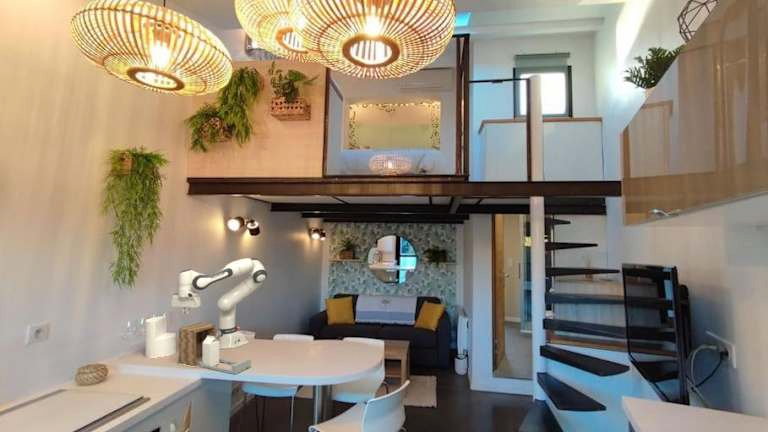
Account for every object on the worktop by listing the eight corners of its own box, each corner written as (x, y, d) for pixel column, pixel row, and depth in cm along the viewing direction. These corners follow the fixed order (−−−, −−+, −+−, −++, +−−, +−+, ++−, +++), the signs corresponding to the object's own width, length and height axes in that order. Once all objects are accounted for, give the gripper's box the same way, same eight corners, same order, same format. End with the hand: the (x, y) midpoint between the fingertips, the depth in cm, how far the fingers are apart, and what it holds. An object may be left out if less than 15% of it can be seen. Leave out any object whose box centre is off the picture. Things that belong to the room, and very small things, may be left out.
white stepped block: (139, 359, 258) (139, 322, 258) (154, 350, 276) (154, 316, 277) (168, 358, 259) (167, 321, 259) (180, 349, 278) (180, 315, 278)
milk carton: (210, 367, 239) (210, 338, 239) (202, 366, 242) (202, 336, 242) (219, 364, 245) (219, 335, 246) (211, 362, 248) (211, 333, 249)
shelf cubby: (179, 364, 246) (179, 328, 246) (200, 356, 261) (200, 322, 261) (194, 367, 240) (194, 330, 240) (215, 359, 255) (215, 324, 255)
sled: (198, 366, 241) (198, 358, 241) (214, 360, 252) (214, 352, 252) (235, 374, 227) (235, 365, 227) (250, 367, 238) (250, 359, 239)
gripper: (169, 294, 255) (169, 314, 254) (195, 294, 251) (195, 315, 251) (175, 292, 261) (175, 312, 261) (202, 293, 257) (202, 313, 257)
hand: (185, 313), depth 256 cm, fingers closed
